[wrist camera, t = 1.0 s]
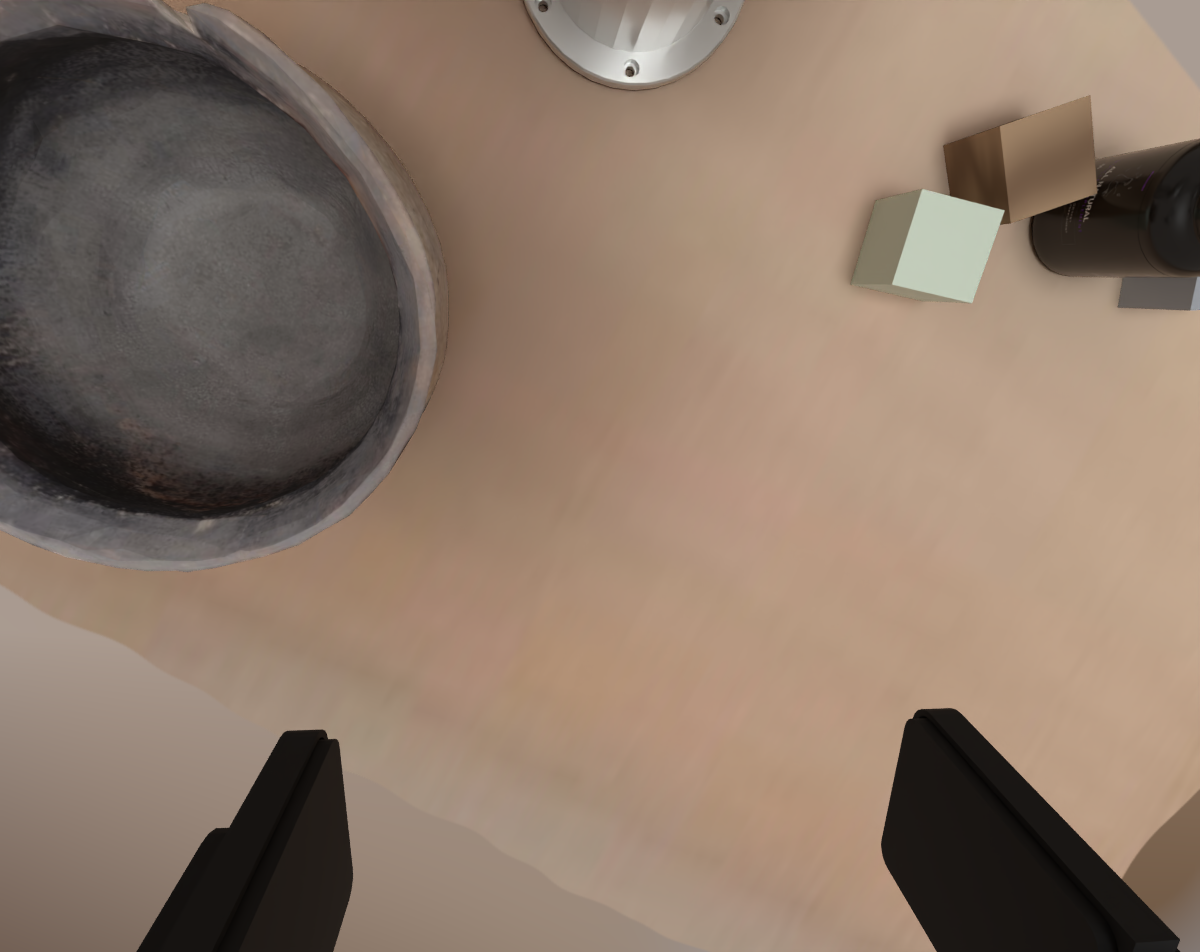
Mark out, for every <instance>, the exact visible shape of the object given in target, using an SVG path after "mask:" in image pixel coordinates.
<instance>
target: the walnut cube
mask: <svg viewBox="0 0 1200 952" xmlns="http://www.w3.org/2000/svg"><path fill="white" fill-rule="evenodd" d="M943 147H944V154H945V162H946V169H947V176H948V183H949V190H950V196H951V197H955V198H959V199H963V200H967V201H970V202H974V203H978V204H982V205H986V206H990V207H993V208H997V209H1001V210H1005V211H1004V214H1003V217H1002V220H1001V222H1000V225H1001V224H1009V223H1013V222H1016V221H1019V220H1022V219H1025V218H1028V217H1031V216H1034V215H1036V214H1039V213H1042V212H1045V211H1048V210H1051V209H1054V208H1057V207H1060V206H1063V205H1065V204H1068V203H1071V202H1074V201H1077V200H1080V199H1083V198H1086V197H1089V196H1092V195H1095V194H1097V182H1096V168H1095V154H1094V140H1093V126H1092V112H1091V98H1090V95H1089V96H1086V97H1083V98H1080V99H1077V100H1074V101H1072V102H1069V103H1066V104H1063V105H1060V106H1057V107H1054V108H1051V109H1048V110H1045V111H1042V112H1039V113H1036V114H1034V115H1031V116H1028V117H1025V118H1022V119H1019V120H1016V121H1013V122H1010V123H1007V124H1005V125H1002V126H999V127H996V128H993V129H990V130H987V131H984V132H981V133H978V134H976V135H973V136H970V137H967V138H964V139H961V140H958V141H955V142H952V143H949V144H947V145H944V146H943Z"/></svg>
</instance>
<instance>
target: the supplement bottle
mask: <svg viewBox="0 0 1200 952" xmlns="http://www.w3.org/2000/svg"><path fill="white" fill-rule="evenodd" d="M1095 168H1096V182H1097V194H1095V195H1092V196H1089V197H1086V198H1083V199H1080V200H1077V201H1074V202H1071V203H1068V204H1065V205H1063V206H1060V207H1057V208H1054V209H1051V210H1048V211H1045V212H1042V213H1039V214H1036V215H1035V216H1034V221H1033V230H1032V234H1033V243H1034V247H1035V250H1036V252H1037V254H1038V256H1039V258H1040V259H1041V261H1042V262H1043V263H1044V264H1045V265H1046V266H1047V267H1048V268H1049V269H1051V270H1052V271H1054V272H1056V273H1058V274H1061V275H1065V276H1072V277H1122V278H1193V277H1200V139H1195V140H1190V141H1185V142H1180V143H1175V144H1170V145H1165V146H1160V147H1155V148H1150V149H1145V150H1141V151H1136V152H1131V153H1126V154H1121V155H1116V156H1111V157H1106V158H1101V159H1097V160H1095Z"/></svg>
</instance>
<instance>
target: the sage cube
mask: <svg viewBox="0 0 1200 952" xmlns="http://www.w3.org/2000/svg"><path fill="white" fill-rule="evenodd" d="M1004 211H1005V210H1001V209H997V208H993V207H990V206H986V205H982V204H978V203H974V202H970V201H967V200H963V199H959V198H955V197H951V196H947V195H944V194H940V193H936V192H932V191H928V190H924V189H920V190H916V191H912V192H908V193H904V194H900V195H896V196H892V197H888V198H884V199H880V200H876V202H875V205H874V208H873V212H872V215H871V218H870V222H869V225H868V228H867V231H866V235H865V238H864V241H863V245H862V248H861V251H860V255H859V258H858V261H857V265H856V268H855V271H854V275H853V278H852V281H851V285H855V286H859V287H864V288H868V289H872V290H877V291H881V292H885V293H890V294H894V295H898V296H902V297H907V298H911V299H915V300H920V301H932V302H955V303H972V302H973V299H974V296H975V293H976V290H977V287H978V285H979V282H980V279H981V276H982V273H983V271H984V268H985V265H986V262H987V259H988V256H989V254H990V251H991V248H992V245H993V242H994V239H995V237H996V234H997V231H998V228H999V225H1000V222H1001V220H1002V217H1003V214H1004Z"/></svg>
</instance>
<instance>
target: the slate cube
mask: <svg viewBox="0 0 1200 952" xmlns="http://www.w3.org/2000/svg"><path fill="white" fill-rule="evenodd" d="M1118 307H1119V308H1143V309H1167V310H1200V277H1193V278H1123V281H1122V287H1121V292H1120V298H1119V303H1118Z"/></svg>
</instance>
